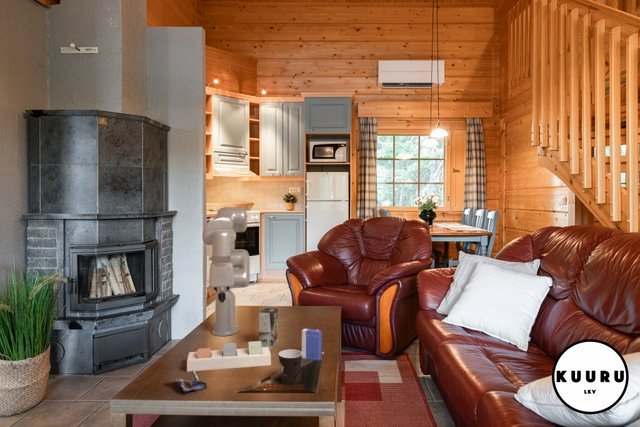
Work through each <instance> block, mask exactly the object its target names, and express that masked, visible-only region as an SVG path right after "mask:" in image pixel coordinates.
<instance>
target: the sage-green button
mask: <svg viewBox="0 0 640 427" xmlns="http://www.w3.org/2000/svg"><path fill="white" fill-rule="evenodd" d="M247 343H248V347H247V348H248V354H249V355H255V354H262V345H261V341H259V340H256V341H248V342H247Z"/></svg>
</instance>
